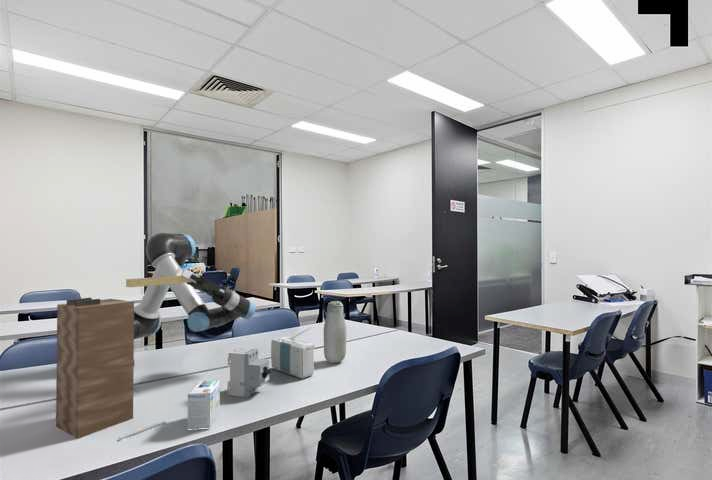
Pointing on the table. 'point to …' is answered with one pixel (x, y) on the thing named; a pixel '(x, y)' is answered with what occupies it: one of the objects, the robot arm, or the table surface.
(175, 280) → the light wood bar
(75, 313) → the walnut stand
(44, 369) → the table surface
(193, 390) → the light bulb box
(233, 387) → the circuit breaker
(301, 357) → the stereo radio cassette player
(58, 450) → the table surface
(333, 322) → the grey water bottle
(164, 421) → the ruler
